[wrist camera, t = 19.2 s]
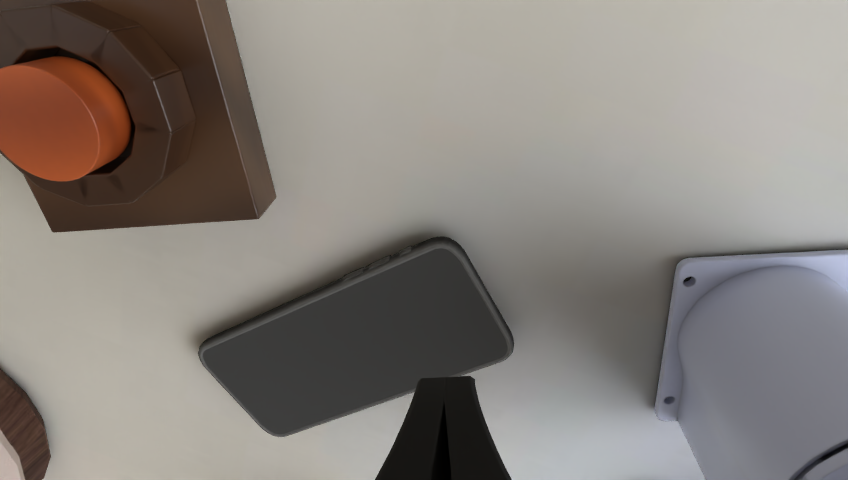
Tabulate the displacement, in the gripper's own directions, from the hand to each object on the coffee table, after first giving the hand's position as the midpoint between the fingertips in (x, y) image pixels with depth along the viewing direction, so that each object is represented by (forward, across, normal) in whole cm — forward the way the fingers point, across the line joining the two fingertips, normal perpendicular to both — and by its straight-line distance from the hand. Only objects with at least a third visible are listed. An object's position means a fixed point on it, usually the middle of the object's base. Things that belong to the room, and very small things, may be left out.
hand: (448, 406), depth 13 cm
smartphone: (+10, +5, +6) cm, 13 cm away
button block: (+11, +12, -7) cm, 17 cm away
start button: (+7, +12, -7) cm, 15 cm away
